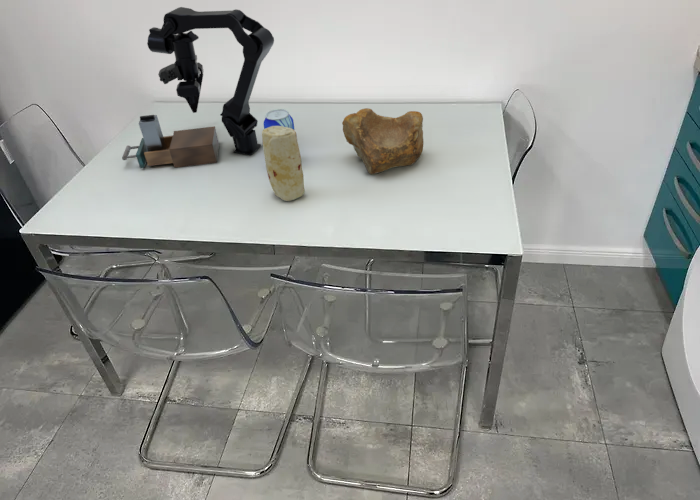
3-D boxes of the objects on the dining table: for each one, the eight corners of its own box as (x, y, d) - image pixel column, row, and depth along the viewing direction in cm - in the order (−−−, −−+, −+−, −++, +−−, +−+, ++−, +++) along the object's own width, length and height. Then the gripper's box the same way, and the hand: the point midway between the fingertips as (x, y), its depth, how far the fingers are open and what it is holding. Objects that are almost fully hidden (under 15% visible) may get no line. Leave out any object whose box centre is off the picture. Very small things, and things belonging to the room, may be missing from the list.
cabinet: (174, 167, 170) (169, 149, 166) (179, 148, 179) (174, 130, 175) (216, 162, 170) (212, 144, 166) (219, 144, 180) (215, 126, 176)
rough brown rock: (340, 182, 158) (337, 136, 148) (345, 149, 170) (342, 104, 160) (423, 183, 156) (426, 136, 146) (422, 149, 168) (425, 104, 158)
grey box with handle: (168, 149, 175) (157, 111, 167) (166, 158, 171) (154, 118, 163) (151, 151, 175) (139, 113, 167) (148, 160, 171) (135, 121, 163)
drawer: (123, 170, 169) (118, 156, 166) (130, 153, 177) (125, 139, 175) (179, 163, 170) (175, 150, 167) (183, 146, 178) (180, 133, 175)
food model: (308, 190, 154) (299, 122, 142) (302, 203, 149) (292, 135, 137) (274, 188, 156) (263, 121, 144) (267, 201, 151) (254, 133, 139)
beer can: (305, 162, 166) (298, 112, 157) (283, 174, 162) (275, 123, 152) (286, 154, 171) (278, 105, 161) (265, 166, 167) (255, 115, 157)
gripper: (160, 46, 169) (172, 95, 179) (152, 69, 155) (165, 121, 165) (198, 43, 170) (208, 92, 180) (193, 66, 156) (204, 118, 166)
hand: (196, 105), depth 173 cm, fingers open, 9 cm apart
